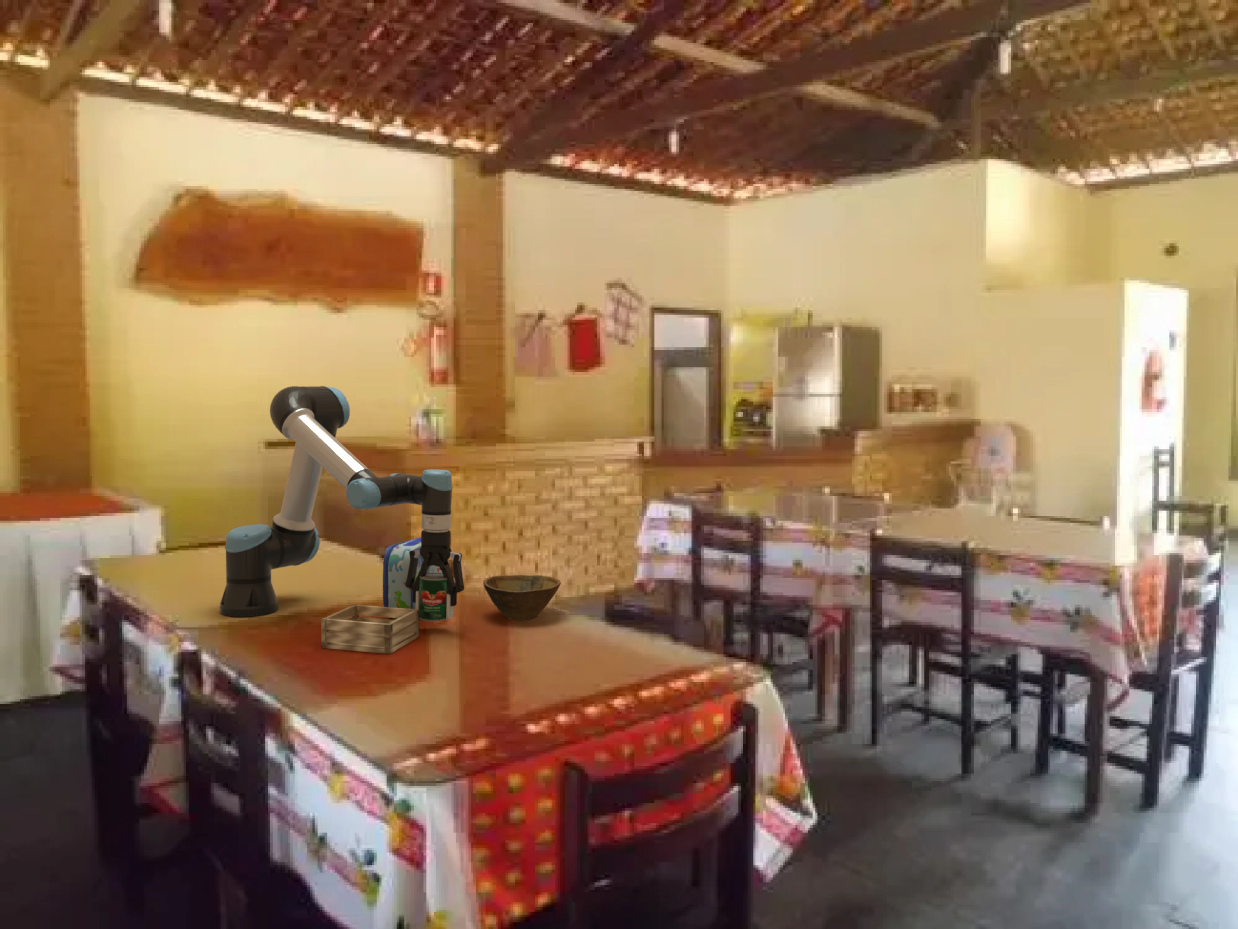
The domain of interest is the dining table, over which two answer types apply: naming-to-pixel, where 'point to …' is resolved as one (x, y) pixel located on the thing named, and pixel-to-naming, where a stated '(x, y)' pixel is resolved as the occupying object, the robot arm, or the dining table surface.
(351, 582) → the dining table surface
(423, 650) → the dining table surface
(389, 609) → the crate
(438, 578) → the canned tomato
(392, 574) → the lunch box
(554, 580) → the bowl
